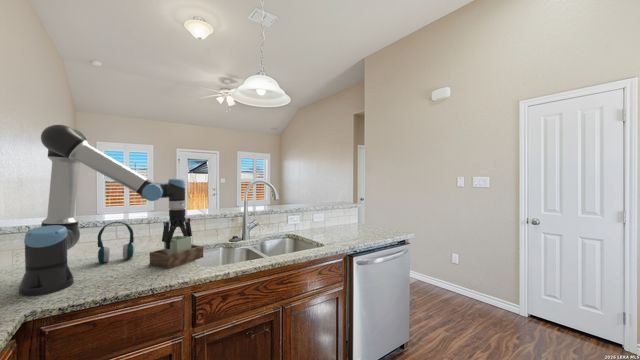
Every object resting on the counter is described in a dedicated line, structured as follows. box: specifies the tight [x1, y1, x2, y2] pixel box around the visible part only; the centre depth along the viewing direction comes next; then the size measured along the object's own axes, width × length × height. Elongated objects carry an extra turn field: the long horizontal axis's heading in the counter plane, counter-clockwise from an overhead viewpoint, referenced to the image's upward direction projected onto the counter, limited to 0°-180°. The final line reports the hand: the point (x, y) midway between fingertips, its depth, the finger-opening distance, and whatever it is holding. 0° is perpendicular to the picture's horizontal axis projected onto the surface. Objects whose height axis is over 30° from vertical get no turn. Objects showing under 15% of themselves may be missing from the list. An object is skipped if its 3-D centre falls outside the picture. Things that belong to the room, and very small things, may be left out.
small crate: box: [163, 234, 192, 255], centre depth 140 cm, size 8×10×8 cm
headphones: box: [96, 221, 135, 264], centre depth 140 cm, size 8×15×20 cm, turn 124°
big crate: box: [149, 243, 204, 270], centre depth 140 cm, size 20×14×6 cm
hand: (177, 252), depth 140 cm, fingers closed on small crate, 8 cm apart
